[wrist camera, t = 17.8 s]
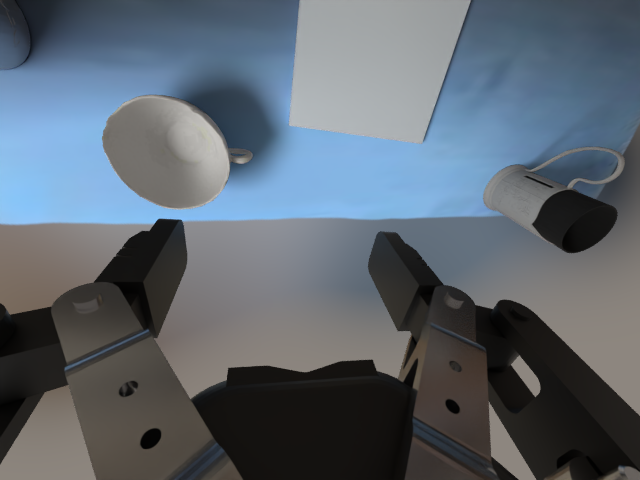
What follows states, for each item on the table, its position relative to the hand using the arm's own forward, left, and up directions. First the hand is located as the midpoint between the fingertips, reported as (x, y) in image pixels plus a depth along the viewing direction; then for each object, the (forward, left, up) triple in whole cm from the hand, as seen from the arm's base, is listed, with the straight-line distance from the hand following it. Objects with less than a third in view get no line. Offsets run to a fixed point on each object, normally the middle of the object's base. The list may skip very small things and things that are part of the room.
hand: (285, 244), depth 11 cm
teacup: (-10, -4, -30) cm, 32 cm away
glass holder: (+42, -3, -30) cm, 52 cm away
